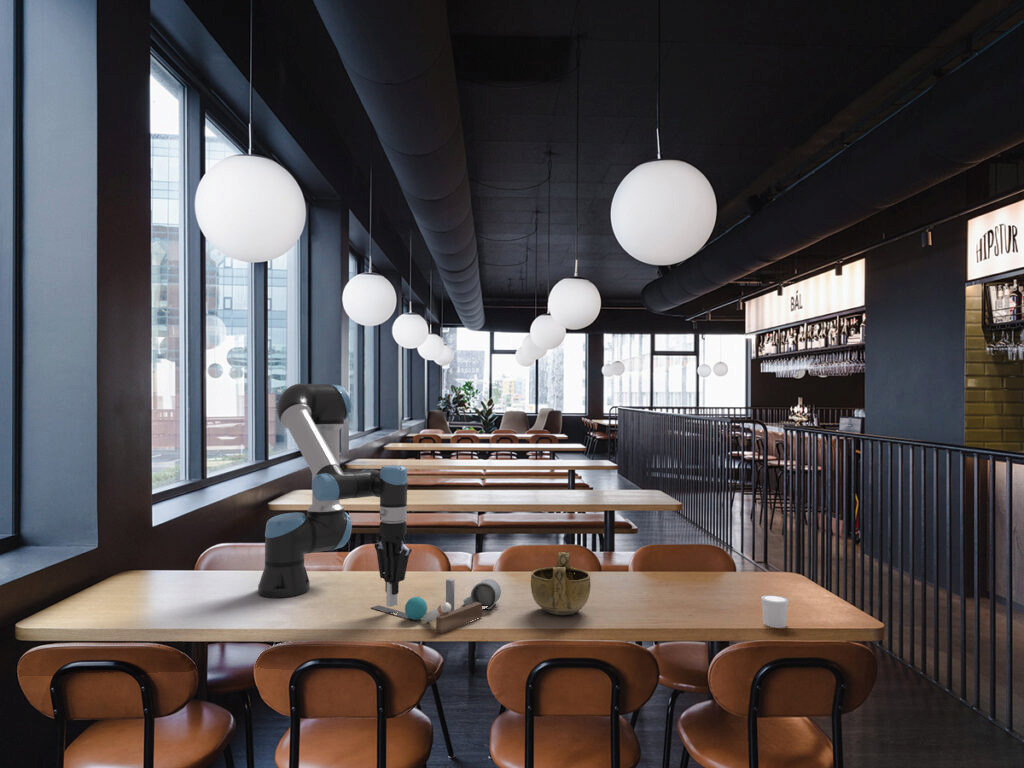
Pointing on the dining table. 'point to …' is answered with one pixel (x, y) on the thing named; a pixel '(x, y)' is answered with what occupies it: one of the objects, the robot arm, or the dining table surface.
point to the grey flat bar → (391, 611)
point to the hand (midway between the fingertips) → (391, 605)
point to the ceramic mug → (485, 593)
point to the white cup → (774, 610)
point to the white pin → (437, 612)
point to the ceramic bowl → (560, 587)
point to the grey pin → (450, 592)
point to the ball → (415, 608)
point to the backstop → (458, 617)
